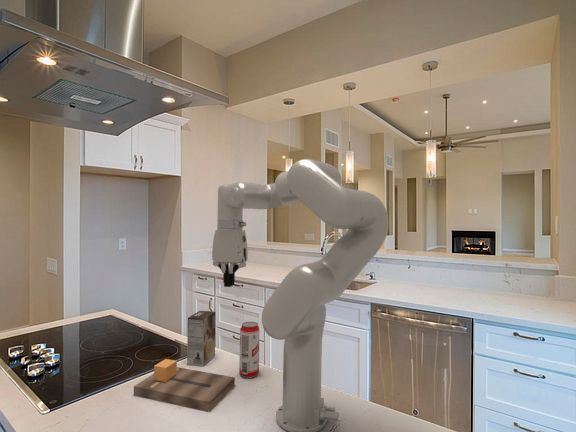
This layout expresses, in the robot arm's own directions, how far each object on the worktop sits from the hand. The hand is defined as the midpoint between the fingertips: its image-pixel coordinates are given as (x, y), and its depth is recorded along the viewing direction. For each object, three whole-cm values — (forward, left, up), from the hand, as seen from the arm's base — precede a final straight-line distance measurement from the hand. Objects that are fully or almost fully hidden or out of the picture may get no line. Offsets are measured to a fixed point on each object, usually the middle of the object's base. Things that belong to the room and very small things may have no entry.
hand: (228, 285), depth 99 cm
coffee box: (+16, -11, -29) cm, 35 cm away
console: (+9, +8, -29) cm, 31 cm away
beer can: (-4, -7, -29) cm, 30 cm away
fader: (+16, +8, -26) cm, 32 cm away
